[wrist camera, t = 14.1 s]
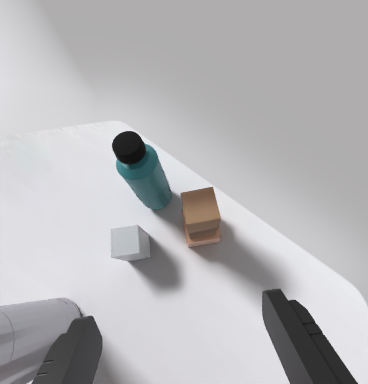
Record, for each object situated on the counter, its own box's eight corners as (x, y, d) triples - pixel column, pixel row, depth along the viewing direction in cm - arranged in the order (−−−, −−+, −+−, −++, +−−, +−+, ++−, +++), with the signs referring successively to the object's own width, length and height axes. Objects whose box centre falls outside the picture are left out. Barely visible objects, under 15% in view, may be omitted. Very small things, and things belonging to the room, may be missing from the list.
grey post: (150, 257, 40) (139, 252, 32) (127, 261, 40) (111, 257, 32) (148, 234, 41) (137, 224, 34) (127, 238, 42) (111, 229, 34)
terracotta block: (218, 242, 40) (221, 237, 35) (188, 247, 40) (186, 243, 35) (212, 212, 42) (213, 205, 38) (183, 217, 42) (181, 210, 38)
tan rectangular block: (215, 234, 36) (220, 218, 26) (190, 239, 36) (186, 224, 26) (210, 209, 37) (212, 186, 28) (185, 214, 37) (180, 193, 28)
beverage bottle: (178, 201, 44) (162, 145, 25) (152, 218, 43) (114, 173, 24) (163, 179, 46) (137, 113, 28) (137, 195, 45) (93, 137, 27)
